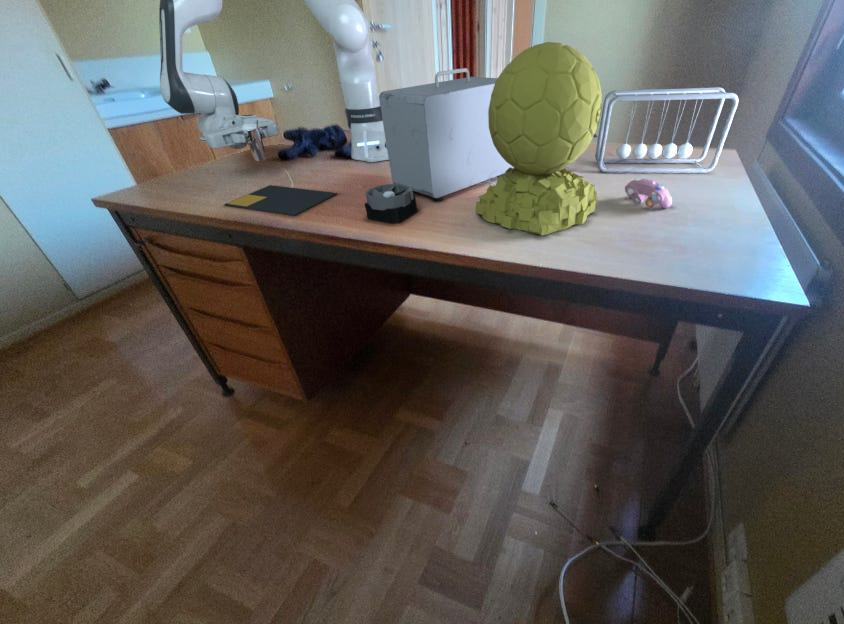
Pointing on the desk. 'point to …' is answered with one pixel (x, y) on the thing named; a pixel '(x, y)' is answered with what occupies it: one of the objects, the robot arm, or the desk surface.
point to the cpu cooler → (390, 203)
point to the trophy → (542, 139)
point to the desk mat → (281, 200)
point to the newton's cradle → (656, 148)
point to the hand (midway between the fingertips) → (255, 136)
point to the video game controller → (648, 193)
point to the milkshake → (254, 141)
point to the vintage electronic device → (441, 135)
